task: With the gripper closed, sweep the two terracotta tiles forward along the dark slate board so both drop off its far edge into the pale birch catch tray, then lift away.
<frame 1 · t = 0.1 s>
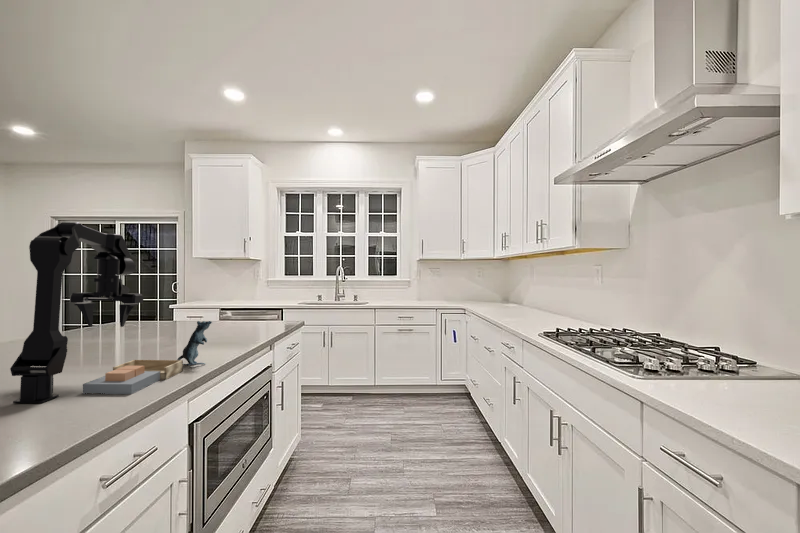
hand: (106, 326, 138), 15 cm above the worktop, fingers open, 9 cm apart
tile far: (130, 374, 128), point 2 cm above the worktop, touching slate board
catch tray: (149, 375, 138), on the worktop
slate board: (123, 386, 124), on the worktop
sculpture: (193, 365, 155), on the worktop
tile near: (120, 378, 122), point 2 cm above the worktop, touching slate board
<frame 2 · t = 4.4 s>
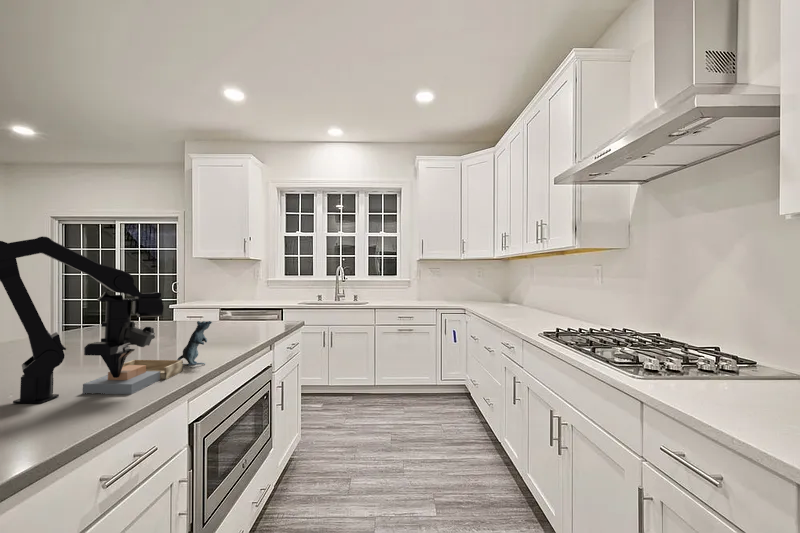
hand: (116, 377, 120), 3 cm above the worktop, fingers closed
tile far: (132, 373, 128), point 3 cm above the worktop, touching slate board, tile near
tile near: (122, 377, 123), point 3 cm above the worktop, touching gripper, tile far
everything else where it was.
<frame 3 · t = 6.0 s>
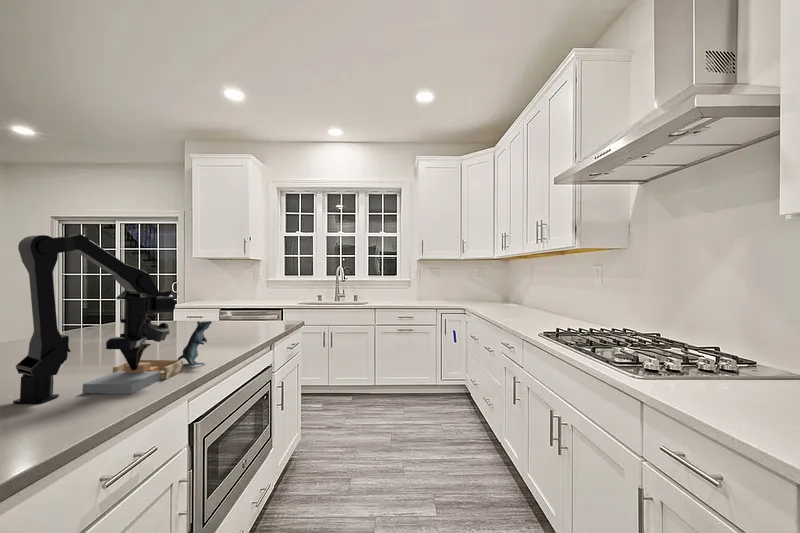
hand: (134, 370, 129), 3 cm above the worktop, fingers closed
tile far: (146, 374, 136), resting on catch tray, touching tile near
tile near: (137, 371, 132), point 2 cm above the worktop, touching gripper, slate board, tile far
everything else where it was.
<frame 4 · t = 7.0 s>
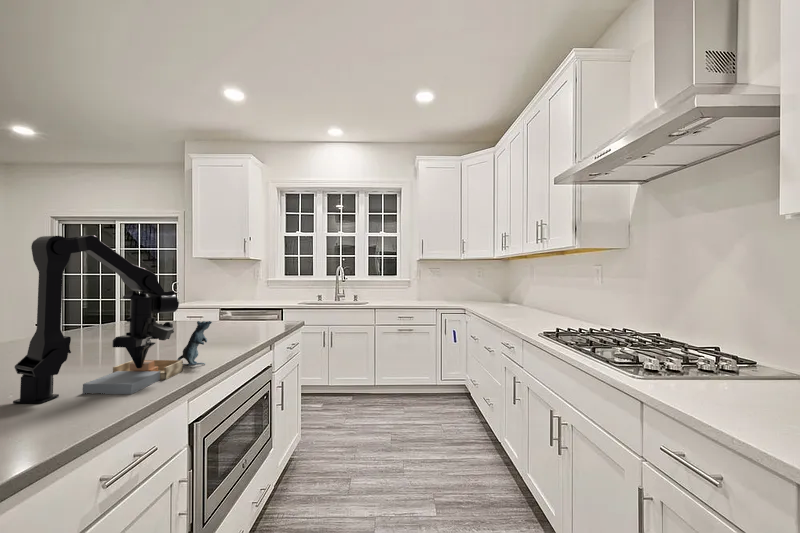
hand: (139, 368, 132), 3 cm above the worktop, fingers closed
tile near: (142, 368, 135), point 2 cm above the worktop, touching gripper, tile far
everything else where it was.
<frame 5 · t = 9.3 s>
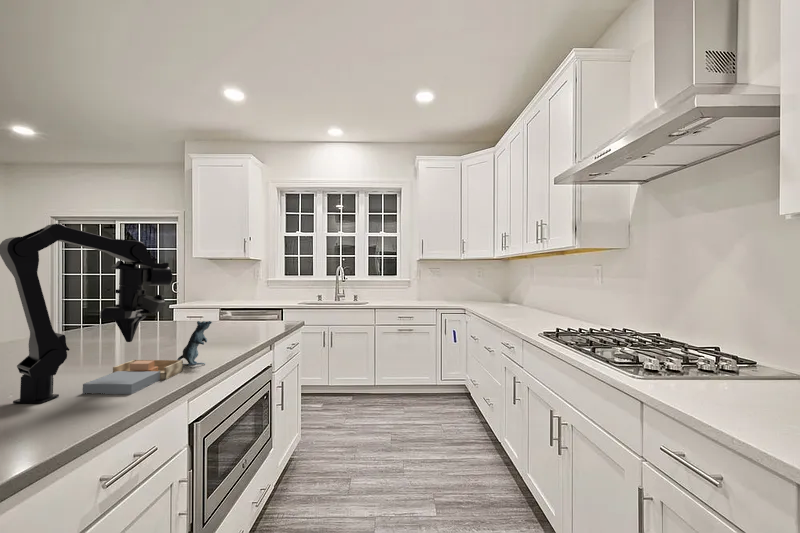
hand: (129, 341, 126), 12 cm above the worktop, fingers closed
tile near: (142, 368, 135), point 2 cm above the worktop, touching tile far
everything else where it was.
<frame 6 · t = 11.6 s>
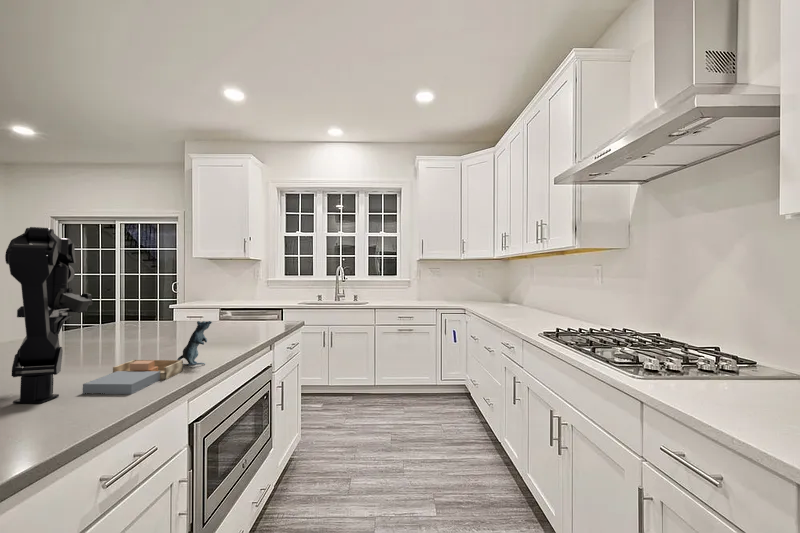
hand: (52, 341, 123), 12 cm above the worktop, fingers closed
nothing on the worktop moved.
at the end: tile near inside the target area on the catch tray (3.1 cm from its centre), point 2.5 cm above the catch tray's base; tile far inside the target area on the catch tray (2.0 cm from its centre), point 0.5 cm above the catch tray's base; tile near touching tile far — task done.
